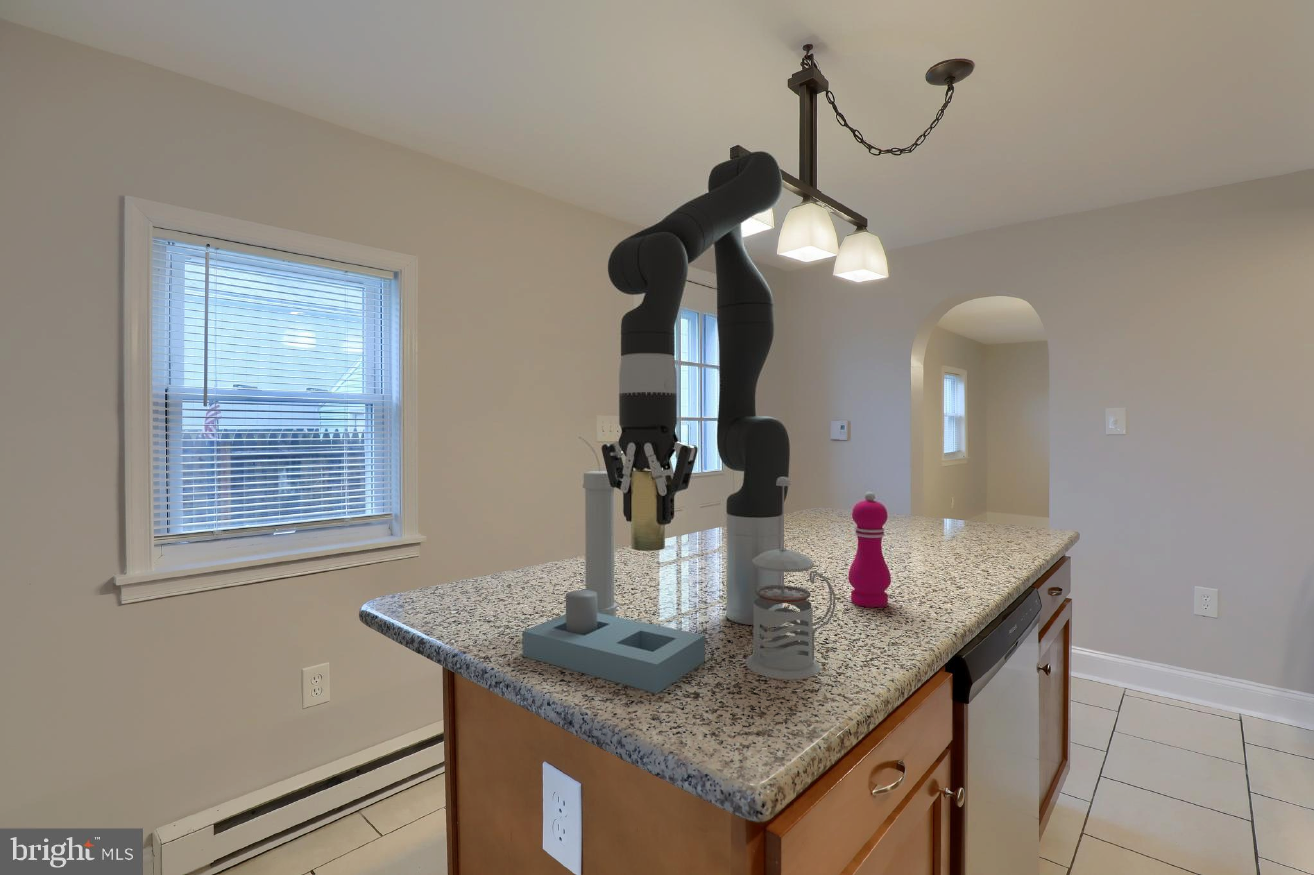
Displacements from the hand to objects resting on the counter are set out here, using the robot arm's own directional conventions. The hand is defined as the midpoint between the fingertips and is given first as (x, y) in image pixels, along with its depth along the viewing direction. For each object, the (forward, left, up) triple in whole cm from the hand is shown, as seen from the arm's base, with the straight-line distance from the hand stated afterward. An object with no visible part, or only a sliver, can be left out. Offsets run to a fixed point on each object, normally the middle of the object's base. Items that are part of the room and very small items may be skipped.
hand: (648, 521), depth 79 cm
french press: (-11, +15, -19) cm, 27 cm away
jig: (0, -6, -19) cm, 20 cm away
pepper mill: (-46, +17, -19) cm, 53 cm away
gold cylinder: (0, 0, -3) cm, 3 cm away
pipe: (-12, -18, -19) cm, 29 cm away
